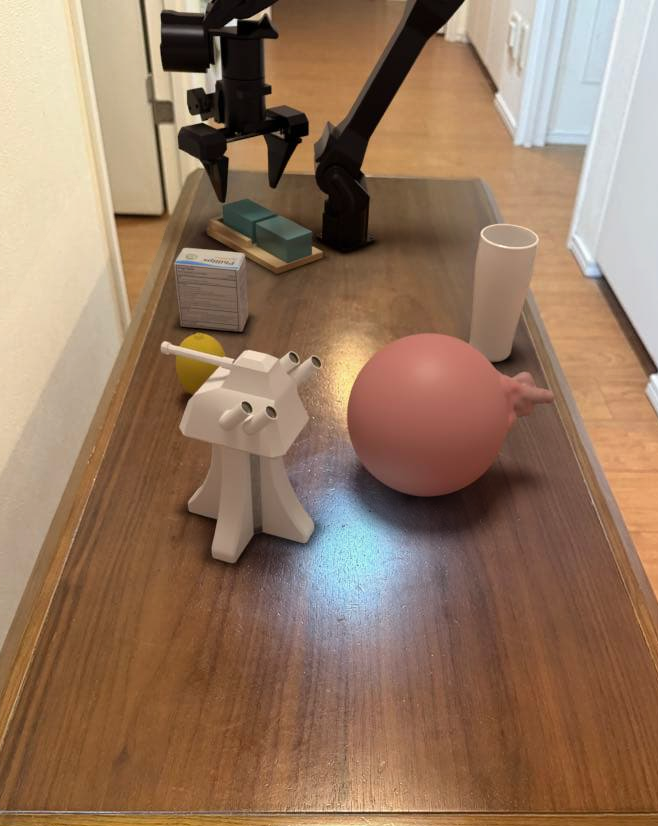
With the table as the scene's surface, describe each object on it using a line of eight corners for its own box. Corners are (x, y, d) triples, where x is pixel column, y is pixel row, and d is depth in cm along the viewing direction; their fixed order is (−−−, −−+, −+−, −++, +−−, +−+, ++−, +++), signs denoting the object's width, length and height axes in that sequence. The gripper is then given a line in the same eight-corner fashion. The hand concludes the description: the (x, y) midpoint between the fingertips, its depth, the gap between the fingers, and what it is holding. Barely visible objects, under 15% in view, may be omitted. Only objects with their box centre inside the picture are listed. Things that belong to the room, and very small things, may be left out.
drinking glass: (522, 347, 105) (547, 231, 95) (506, 372, 101) (530, 253, 90) (472, 334, 107) (490, 218, 97) (454, 358, 102) (471, 239, 92)
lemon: (189, 416, 91) (182, 351, 85) (172, 390, 94) (165, 326, 89) (236, 405, 93) (233, 341, 87) (219, 379, 96) (214, 316, 91)
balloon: (555, 527, 81) (594, 392, 70) (349, 530, 79) (357, 392, 68) (520, 433, 92) (549, 304, 81) (339, 434, 90) (345, 302, 79)
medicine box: (249, 316, 107) (246, 251, 101) (242, 334, 104) (238, 268, 98) (188, 310, 108) (182, 245, 102) (180, 327, 104) (173, 261, 98)
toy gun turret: (210, 465, 85) (194, 302, 72) (332, 497, 82) (338, 334, 70) (151, 540, 76) (123, 369, 64) (285, 578, 74) (283, 409, 61)
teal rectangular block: (277, 236, 123) (276, 213, 121) (252, 244, 121) (251, 221, 118) (247, 220, 127) (247, 198, 124) (223, 228, 124) (222, 205, 122)
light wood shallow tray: (206, 234, 125) (204, 205, 122) (252, 220, 129) (251, 191, 126) (276, 274, 116) (276, 243, 113) (322, 258, 121) (323, 228, 118)
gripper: (260, 51, 118) (263, 165, 129) (148, 70, 108) (160, 191, 119) (312, 70, 113) (310, 187, 123) (198, 91, 103) (207, 217, 113)
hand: (247, 194), depth 120 cm, fingers open, 9 cm apart
